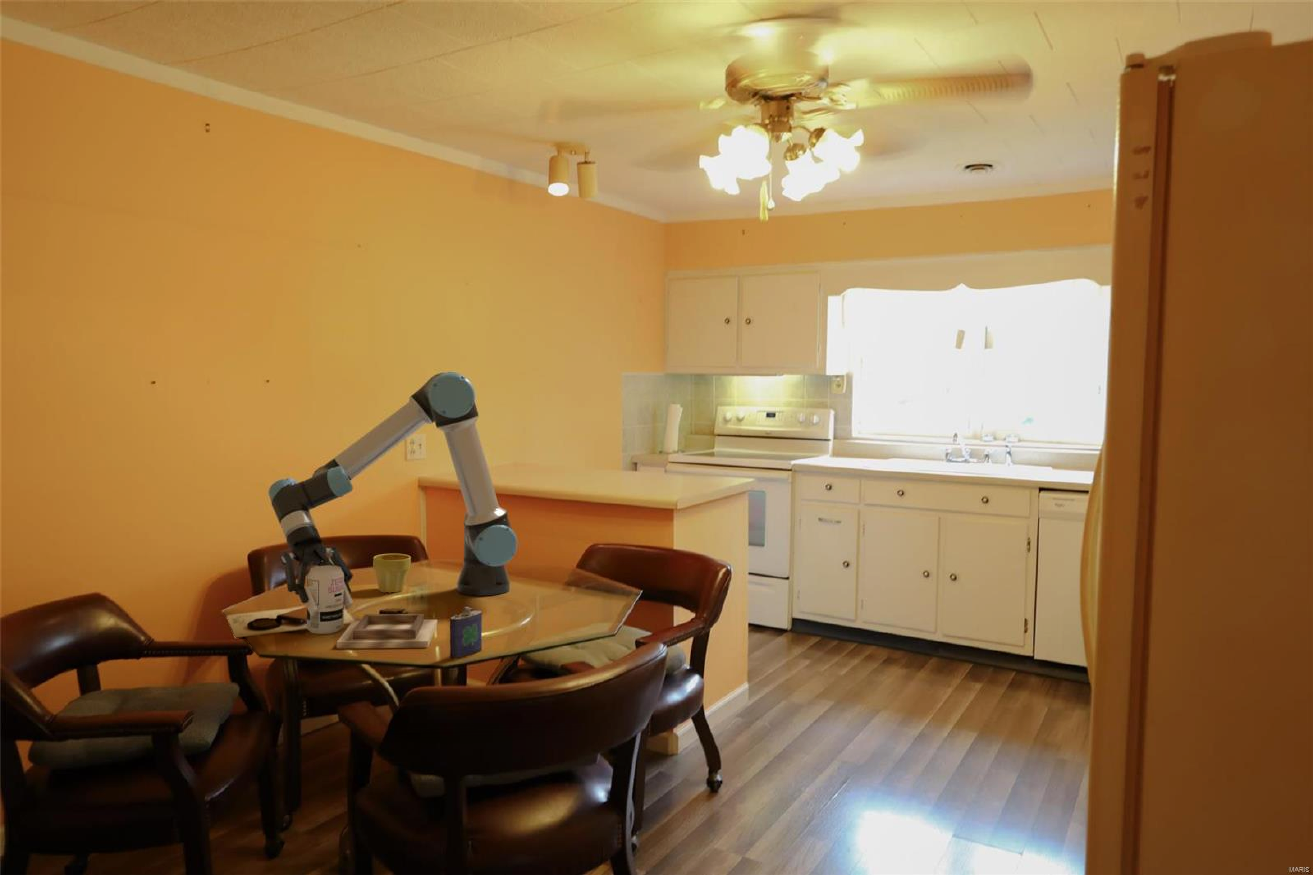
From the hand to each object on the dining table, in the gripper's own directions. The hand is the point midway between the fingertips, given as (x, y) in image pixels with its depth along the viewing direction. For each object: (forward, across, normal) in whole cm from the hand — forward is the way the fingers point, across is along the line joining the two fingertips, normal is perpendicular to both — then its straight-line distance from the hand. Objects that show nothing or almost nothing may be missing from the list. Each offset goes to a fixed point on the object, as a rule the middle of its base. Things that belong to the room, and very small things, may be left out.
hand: (332, 609), depth 207 cm
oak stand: (+12, -8, +4) cm, 15 cm away
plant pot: (-16, -33, -24) cm, 44 cm away
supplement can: (+2, 0, -6) cm, 7 cm away
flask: (+29, -14, +20) cm, 38 cm away
